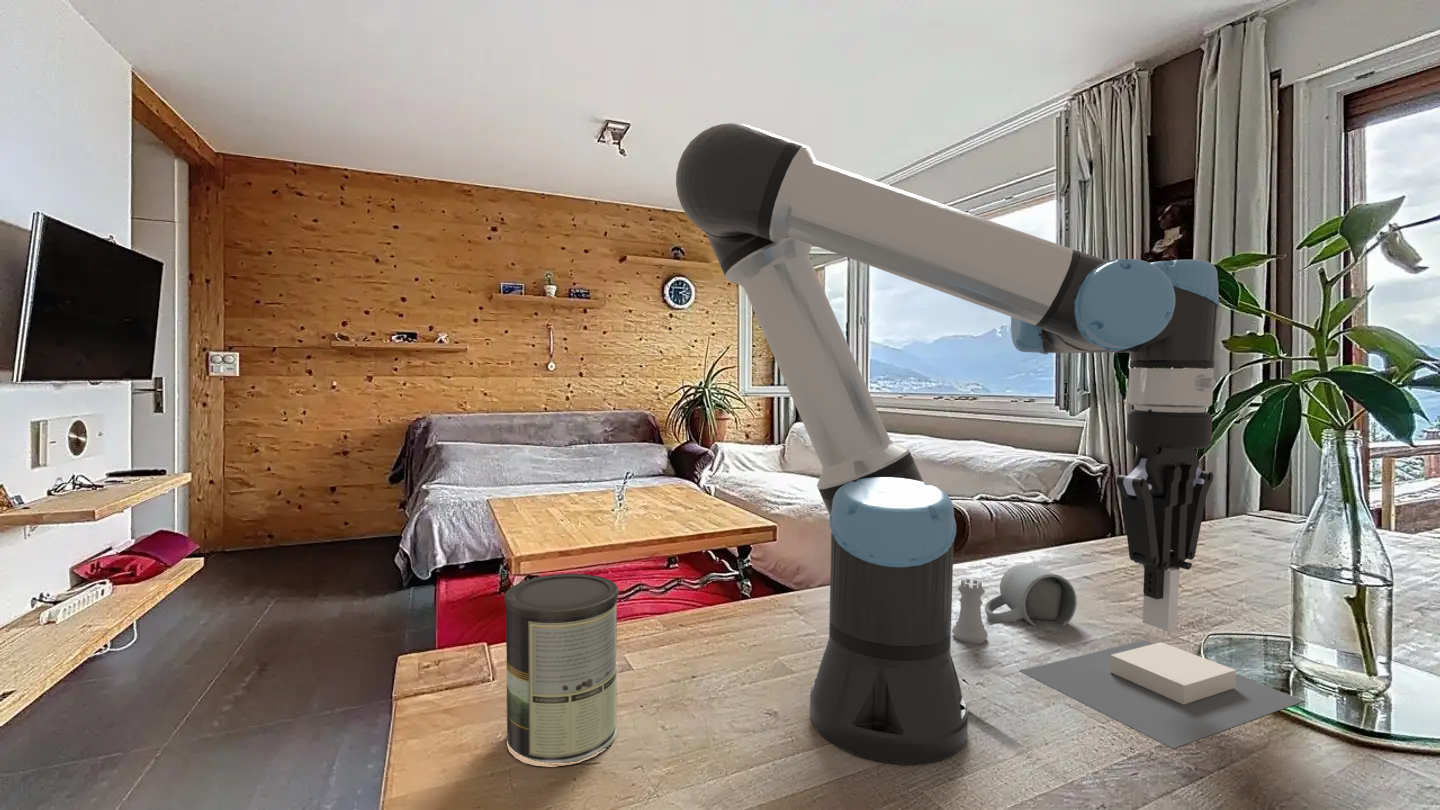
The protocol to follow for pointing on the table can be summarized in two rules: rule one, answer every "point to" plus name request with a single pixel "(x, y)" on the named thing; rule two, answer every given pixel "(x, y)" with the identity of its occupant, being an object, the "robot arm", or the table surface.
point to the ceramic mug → (1033, 596)
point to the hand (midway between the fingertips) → (1159, 625)
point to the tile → (1173, 672)
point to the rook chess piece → (970, 614)
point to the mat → (1157, 699)
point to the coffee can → (561, 666)
